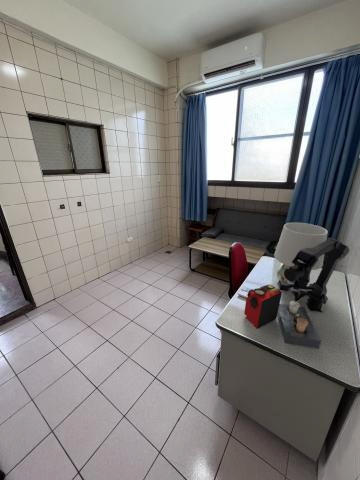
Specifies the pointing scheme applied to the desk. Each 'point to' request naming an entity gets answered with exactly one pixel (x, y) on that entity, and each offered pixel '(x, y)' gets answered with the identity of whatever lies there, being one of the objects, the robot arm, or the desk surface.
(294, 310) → the knob
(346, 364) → the desk surface
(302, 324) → the knob
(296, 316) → the black and brass dome
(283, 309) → the panel
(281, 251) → the table lamp
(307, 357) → the desk surface
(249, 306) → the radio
